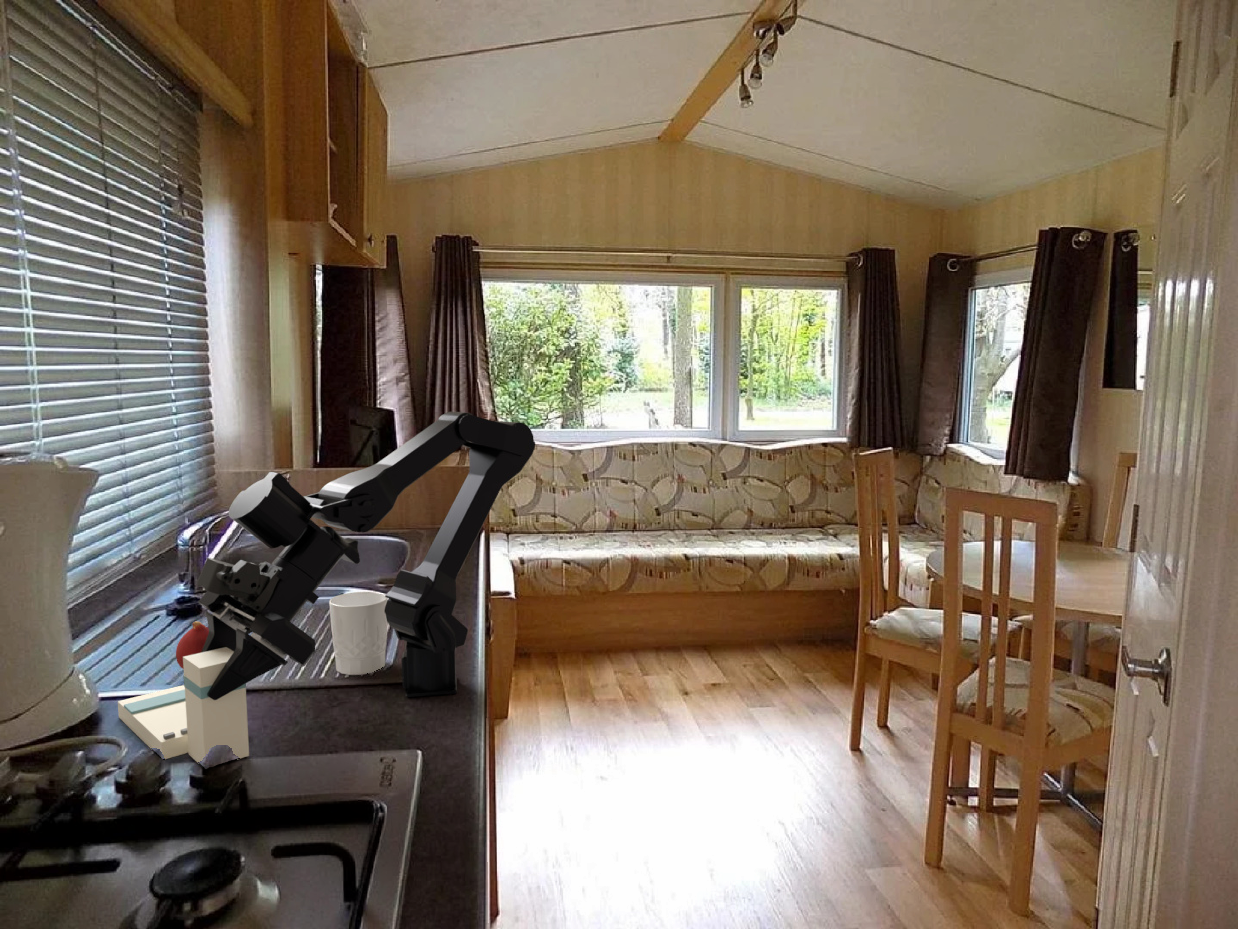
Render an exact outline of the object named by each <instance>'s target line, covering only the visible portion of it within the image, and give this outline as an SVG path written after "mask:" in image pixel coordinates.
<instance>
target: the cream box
mask: <svg viewBox="0 0 1238 929" xmlns="http://www.w3.org/2000/svg"><path fill="white" fill-rule="evenodd" d="M233 652H234V651H232V650H230V649H229V648H227V647H224V648H219V649H215V650H211V651H206V652H202V653H197V654H193V655H189V656H184V657H183V668H184V669H183V668H182V669H183V685H184V687H185V701H186V718H187V734H188V751H189V752H188V756H190V757H191V758H192V759H193V760H194V761H195V762H196V763H198V762H200V761H202V760H203V758H204V757H205V756H206V754H208V752H209V749H210V748H212V747H214V746H216V745H228V746H229V747H230V748H232V751H233V754H235V755H236V756H238V757H239V758H240V759H243V758H245V757H249V756H250V749H249V748H250V747H249V745H250V744H249V729H248V728H249V726H248V725H249V724H248V708H247V707H248V706H247V683H245V684H244V685H242V686H240V687H238V688H237V689H235V690H233V691H231V692H230V693H228V694H226V695H224V696H223V697H221V698H219V699H217V700H213V699H211V698H210V697H208V696H207V693H208V691H209V690H210V688H211V686H212V685H213V683H214V681H215V680H216V678H217V677H218V675H219V674H220V672H221V671H222V669H223V668H224V666H225V665H226V663H227V661H228V660H229V658H230V657H231V655H232V654H233Z"/></svg>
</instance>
